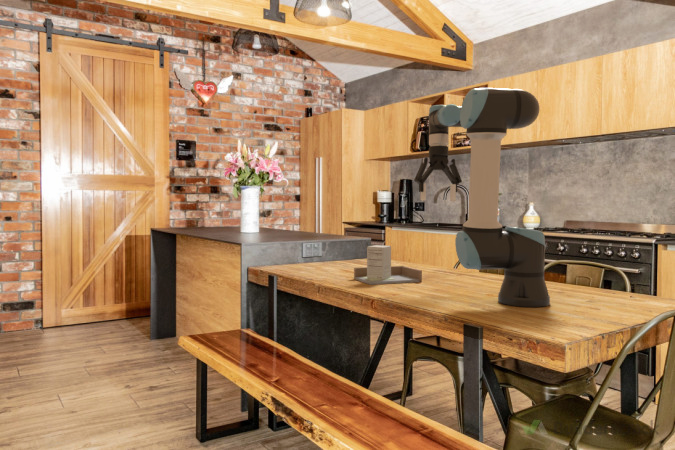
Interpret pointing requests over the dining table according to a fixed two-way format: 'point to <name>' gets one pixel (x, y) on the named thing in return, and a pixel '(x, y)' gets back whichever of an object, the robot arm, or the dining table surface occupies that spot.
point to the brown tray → (397, 272)
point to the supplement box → (378, 262)
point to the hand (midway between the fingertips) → (438, 200)
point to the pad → (378, 279)
